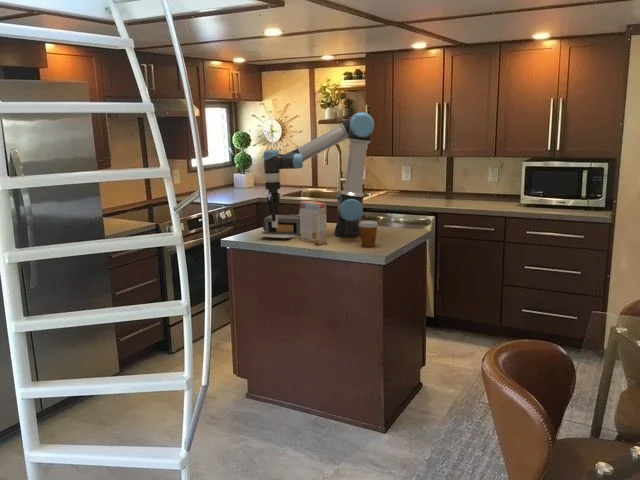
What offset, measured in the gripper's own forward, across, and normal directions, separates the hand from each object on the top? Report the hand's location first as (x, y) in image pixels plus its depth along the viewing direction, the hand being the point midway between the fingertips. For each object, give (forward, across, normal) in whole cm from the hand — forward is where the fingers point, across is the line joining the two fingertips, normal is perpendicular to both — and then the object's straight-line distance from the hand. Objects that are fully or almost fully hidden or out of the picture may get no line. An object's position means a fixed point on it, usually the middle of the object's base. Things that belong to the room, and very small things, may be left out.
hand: (275, 227), depth 299 cm
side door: (+7, -11, -1) cm, 13 cm away
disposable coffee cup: (+9, -1, +48) cm, 49 cm away
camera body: (+8, -17, -1) cm, 18 cm away
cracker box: (+8, -2, +20) cm, 21 cm away
